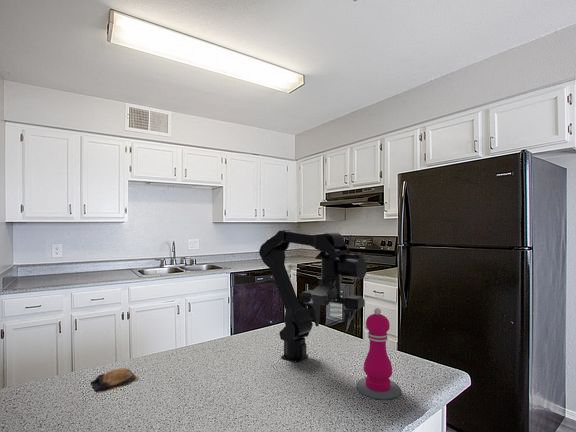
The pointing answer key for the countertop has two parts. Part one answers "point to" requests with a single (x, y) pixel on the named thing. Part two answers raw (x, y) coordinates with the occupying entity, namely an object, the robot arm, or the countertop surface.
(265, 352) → the countertop surface
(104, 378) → the brown oval lump
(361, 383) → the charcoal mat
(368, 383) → the pepper mill
